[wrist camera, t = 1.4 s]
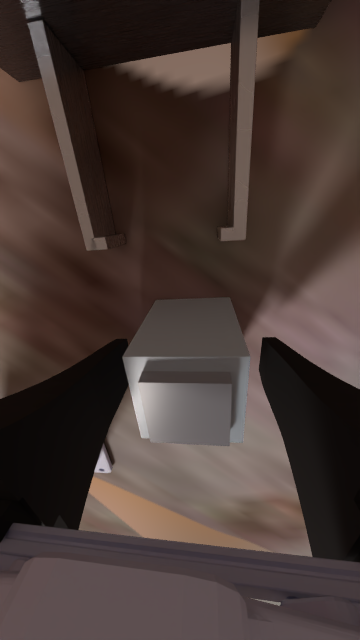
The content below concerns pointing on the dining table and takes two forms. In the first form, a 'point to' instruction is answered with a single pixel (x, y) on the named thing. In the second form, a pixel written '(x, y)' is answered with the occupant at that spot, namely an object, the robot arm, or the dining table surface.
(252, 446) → the dining table surface
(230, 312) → the block
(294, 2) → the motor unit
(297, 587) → the robot arm
